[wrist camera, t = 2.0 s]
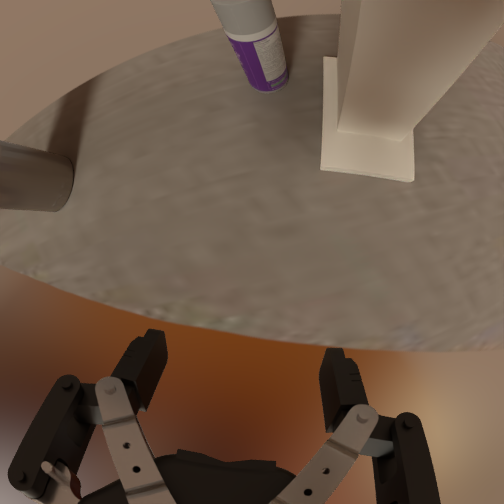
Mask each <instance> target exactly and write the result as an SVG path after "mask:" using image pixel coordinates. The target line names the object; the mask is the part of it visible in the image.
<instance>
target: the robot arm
mask: <svg viewBox="0 0 504 504" xmlns="http://www.w3.org/2000/svg"><path fill="white" fill-rule="evenodd" d="M72 183H73V167H72V164H71V162H70V160H69V159H68V158H67V157H65V156H61V155H57V154H54V153H50V152H46V151H42V150H38V149H34V148H30V147H26V146H22V145H18V144H14V143H9V142H5V141H0V209H11V210H30V211H47V212H56V211H58V210H60V209H61V208H62V207H63V206H64V204H65V203H66V201H67V199H68V197H69V195H70V192H71V188H72ZM167 359H168V351H167V345H166V339H165V333H164V331H161V330H155V329H148V330H147V332H146V334H145V335H144V337H139V336H138V337H137V338H136V339H135V340H133V341H132V342H131V343H130V345H129V346H128V348H127V350H126V351H125V353H124V355H123V356H122V358H121V359H120V361H119V363H118V364H117V366H116V368H115V369H114V371H113V373H112V374H111V376H110V377H105V378H102V379H101V380H99V381H98V383H97V384H86V383H80V381H79V379H78V378H77V377H76V376H74V375H64V376H62V377H60V378H59V379H58V380H57V381H56V383H55V384H54V386H53V387H52V389H51V391H50V392H49V394H48V396H47V397H46V399H45V401H44V402H43V404H42V406H41V407H40V409H39V411H38V413H37V415H36V416H35V418H34V420H33V421H32V423H31V425H30V427H29V429H28V431H27V433H26V434H25V436H24V438H23V440H22V442H21V444H20V446H19V448H18V450H17V452H16V454H15V456H14V458H13V460H12V463H11V465H10V467H9V469H8V479H9V481H10V483H11V485H12V486H13V487H14V488H15V489H17V490H18V491H20V492H21V493H23V494H24V495H25V496H26V497H28V498H29V499H31V500H33V501H34V502H36V503H38V504H324V503H325V502H326V501H327V499H328V498H329V497H330V496H331V494H332V493H333V492H334V490H335V489H336V488H337V486H338V485H339V484H340V482H341V481H342V480H343V478H344V477H345V476H346V474H347V473H348V471H349V470H350V468H351V467H352V465H353V464H354V462H355V461H356V459H357V458H358V454H361V455H367V456H372V462H373V470H374V480H375V490H376V501H377V504H441V503H440V497H439V492H438V487H437V482H436V477H435V473H434V469H433V464H432V460H431V456H430V452H429V448H428V444H427V441H426V437H425V434H424V430H423V427H422V423H421V421H420V419H419V418H418V416H416V415H415V414H413V413H409V412H404V413H401V414H399V415H398V416H397V418H391V417H385V416H381V415H378V413H377V412H376V410H375V409H374V408H372V407H371V406H369V404H368V401H367V397H366V393H365V390H364V386H363V383H362V381H361V380H362V379H361V376H360V372H359V369H358V366H357V364H356V363H355V362H354V361H353V360H352V359H351V358H345V355H344V351H343V349H342V348H327V349H326V351H325V355H324V358H323V361H322V365H321V367H320V371H319V383H320V391H321V398H322V405H323V413H324V420H325V429H326V433H329V432H333V435H332V436H331V437H330V438H329V440H327V441H326V442H325V443H324V445H323V446H322V448H320V450H319V451H318V452H317V454H316V455H315V456H314V457H313V458H312V459H311V460H310V462H309V463H308V464H307V465H306V466H305V467H304V468H303V470H302V471H301V472H300V473H299V474H298V475H297V476H296V475H294V474H293V473H291V472H289V471H287V470H285V469H282V468H279V467H276V461H264V460H245V461H236V462H223V461H220V460H217V459H214V458H212V457H209V456H207V455H204V454H202V453H197V452H191V451H186V450H181V449H178V450H177V454H170V455H164V456H160V457H157V458H155V457H154V455H153V453H152V451H151V449H150V447H149V444H148V442H147V440H146V438H145V435H144V433H143V431H142V428H141V426H140V424H139V421H138V419H137V416H136V415H137V413H138V411H139V410H141V411H145V412H146V411H147V408H148V406H149V404H150V401H151V399H152V397H153V394H154V392H155V389H156V387H157V385H158V382H159V380H160V378H161V375H162V373H163V370H164V368H165V366H166V364H167ZM97 424H102V428H103V432H104V435H105V438H106V441H107V444H108V447H109V450H110V453H111V456H112V459H113V462H114V465H115V467H116V470H117V473H118V475H119V477H120V479H118V480H116V481H114V482H112V483H110V484H108V485H107V486H105V487H103V488H101V489H99V490H97V491H95V492H93V493H91V494H88V495H86V496H84V497H83V498H82V497H81V482H80V480H79V478H78V477H77V476H76V475H77V472H78V469H79V467H80V464H81V461H82V459H83V456H84V454H85V451H86V449H87V446H88V443H89V441H90V439H91V436H92V434H93V431H94V429H95V427H96V425H97Z"/></svg>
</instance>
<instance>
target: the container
mask: <svg viewBox="0 0 504 504" xmlns="http://www.w3.org/2000/svg"><path fill="white" fill-rule="evenodd" d="M210 1H211V3H212V5H213V7H214V9H215V11H216V13H217V15H218V17H219V20H220V21H221V24H222V26H223V28H224V30H225V33H226V35H227V37H228V39H229V41H230V43H231V45H232V47H233V49H234V51H235V53H236V55H237V57H238V59H239V61H240V63H241V65H242V67H243V70H244V72H245V74H246V76H247V78H248V80H249V83H250V84H251V86H252V88H253V89H255V90H256V91H258V92H261V93H274V92H277V91H279V90H281V89H282V88H283V87H284V86H285V85H286V84H287V82H288V71H287V66H286V60H285V55H284V50H283V46H282V41H281V36H280V32H279V27H278V23H277V19H276V15H275V12H274V8H273V5H272V1H271V0H210Z"/></svg>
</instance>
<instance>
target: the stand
mask: <svg viewBox="0 0 504 504" xmlns="http://www.w3.org/2000/svg"><path fill="white" fill-rule="evenodd" d="M503 23H504V0H342V2H341V18H340V32H339V44H338V55H337V58H336V57H326V56H323V123H322V147H321V165H320V170H327V171H336V172H344V173H352V174H359V175H366V176H373V177H379V178H385V179H391V180H397V181H403V182H408V183H410V182H412V181H414V140H413V128H414V127H415V126H416V125H417V124H418V123H419V122H420V120H421V119H422V118H423V117H424V116H425V115H426V114H427V113H428V112H429V111H430V109H431V108H432V107H433V106H434V105H435V104H436V103H437V102H438V100H439V99H440V98H441V97H442V96H443V95H444V94H445V93H446V91H447V90H448V89H449V88H450V87H451V86H452V85H453V83H454V82H455V81H456V80H457V79H458V78H459V77H460V75H461V74H462V73H463V72H464V71H465V70H466V68H467V67H468V66H469V65H470V64H471V62H472V61H473V60H474V59H475V58H476V57H477V55H478V54H479V53H480V52H481V51H482V49H483V48H484V47H485V46H486V44H487V43H488V42H489V41H490V40H491V38H492V37H493V36H494V34H495V33H496V32H497V31H498V30H499V28H500V27H501V26H502V24H503Z"/></svg>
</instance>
